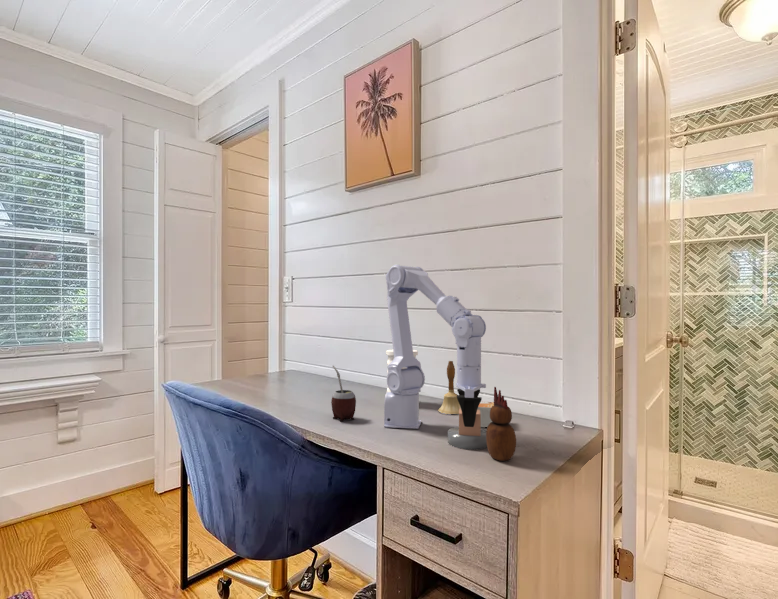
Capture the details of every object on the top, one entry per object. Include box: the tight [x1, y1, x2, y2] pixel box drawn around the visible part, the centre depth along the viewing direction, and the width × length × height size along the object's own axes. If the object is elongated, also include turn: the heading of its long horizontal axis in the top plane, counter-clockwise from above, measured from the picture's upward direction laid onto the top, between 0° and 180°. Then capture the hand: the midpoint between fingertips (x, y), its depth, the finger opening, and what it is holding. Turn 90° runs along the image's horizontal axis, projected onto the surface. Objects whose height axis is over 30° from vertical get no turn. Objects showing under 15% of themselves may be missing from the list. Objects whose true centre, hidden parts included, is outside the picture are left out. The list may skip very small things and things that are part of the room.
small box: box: [460, 401, 494, 428], centre depth 120 cm, size 8×6×10 cm
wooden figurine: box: [486, 386, 517, 462], centre depth 92 cm, size 7×6×15 cm
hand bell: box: [437, 360, 460, 415], centre depth 134 cm, size 8×8×16 cm
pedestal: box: [447, 426, 488, 450], centre depth 103 cm, size 10×10×2 cm
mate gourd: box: [330, 365, 357, 423], centre depth 125 cm, size 8×8×15 cm
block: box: [458, 409, 482, 436], centre depth 103 cm, size 5×5×5 cm
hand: (468, 422), depth 103 cm, fingers open, 7 cm apart
